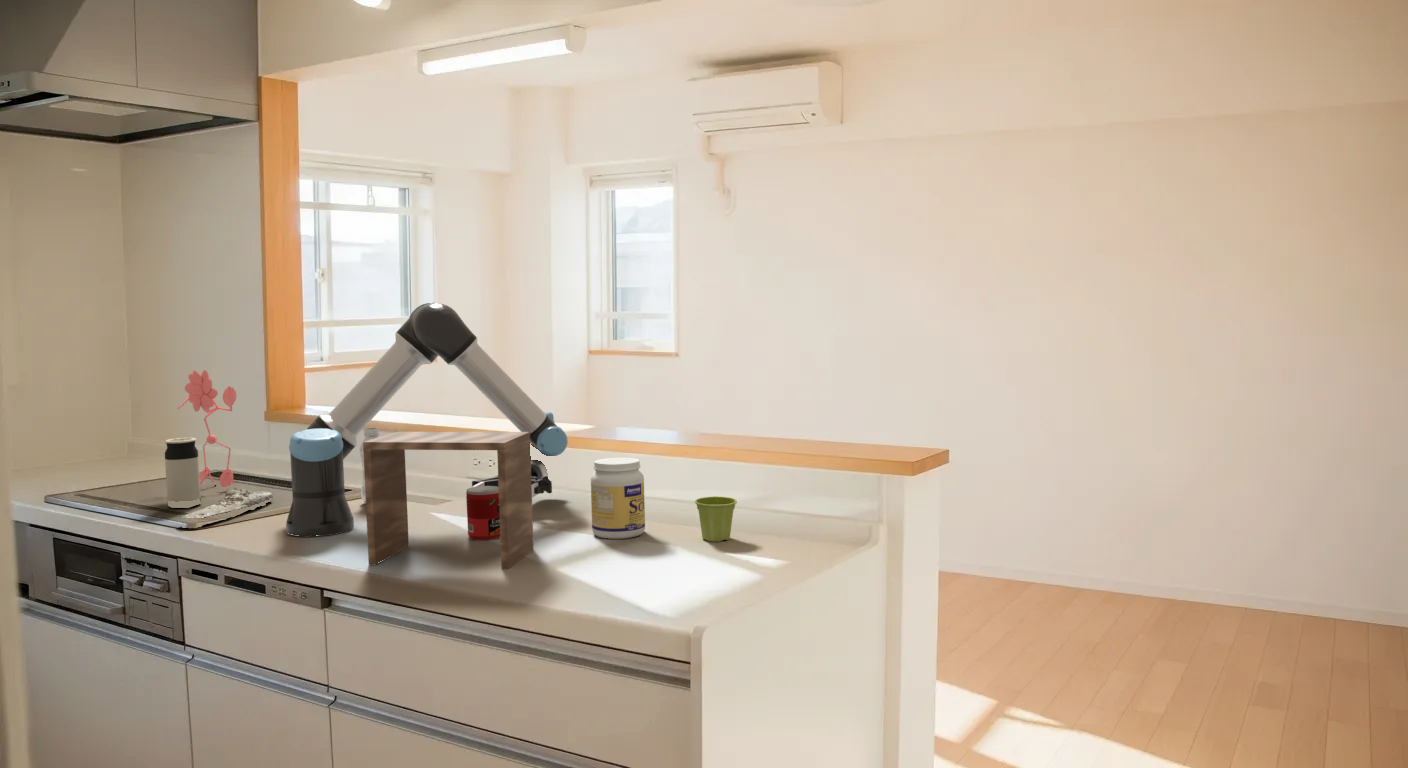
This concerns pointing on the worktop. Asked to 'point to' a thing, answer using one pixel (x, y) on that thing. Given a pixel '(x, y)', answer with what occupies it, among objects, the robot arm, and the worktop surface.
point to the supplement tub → (617, 498)
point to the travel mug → (182, 470)
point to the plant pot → (716, 517)
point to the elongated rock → (231, 503)
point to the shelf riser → (389, 450)
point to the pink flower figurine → (203, 397)
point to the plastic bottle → (369, 435)
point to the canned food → (483, 512)
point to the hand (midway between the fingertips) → (500, 492)
